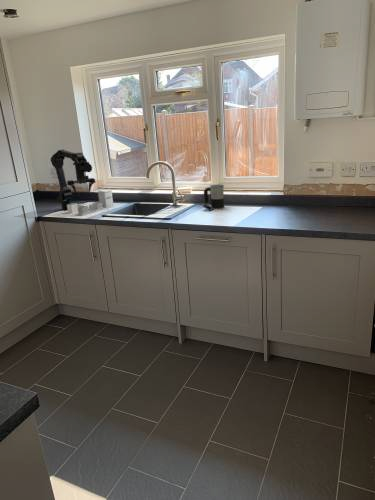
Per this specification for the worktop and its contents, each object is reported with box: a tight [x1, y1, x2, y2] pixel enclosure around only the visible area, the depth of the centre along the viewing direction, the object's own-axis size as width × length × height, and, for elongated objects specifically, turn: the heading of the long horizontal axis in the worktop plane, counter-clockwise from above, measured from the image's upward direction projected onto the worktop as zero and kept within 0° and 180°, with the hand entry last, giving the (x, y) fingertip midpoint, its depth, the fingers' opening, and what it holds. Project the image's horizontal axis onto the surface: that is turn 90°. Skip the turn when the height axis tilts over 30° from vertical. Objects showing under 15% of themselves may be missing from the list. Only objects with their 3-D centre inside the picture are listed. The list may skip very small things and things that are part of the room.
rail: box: [76, 201, 106, 217], centre depth 283 cm, size 6×22×6 cm, turn 147°
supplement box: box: [97, 189, 114, 209], centre depth 295 cm, size 7×7×13 cm
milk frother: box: [202, 184, 225, 211], centre depth 266 cm, size 14×16×15 cm
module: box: [67, 202, 78, 214], centre depth 286 cm, size 4×6×6 cm
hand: (82, 193), depth 282 cm, fingers open, 9 cm apart
